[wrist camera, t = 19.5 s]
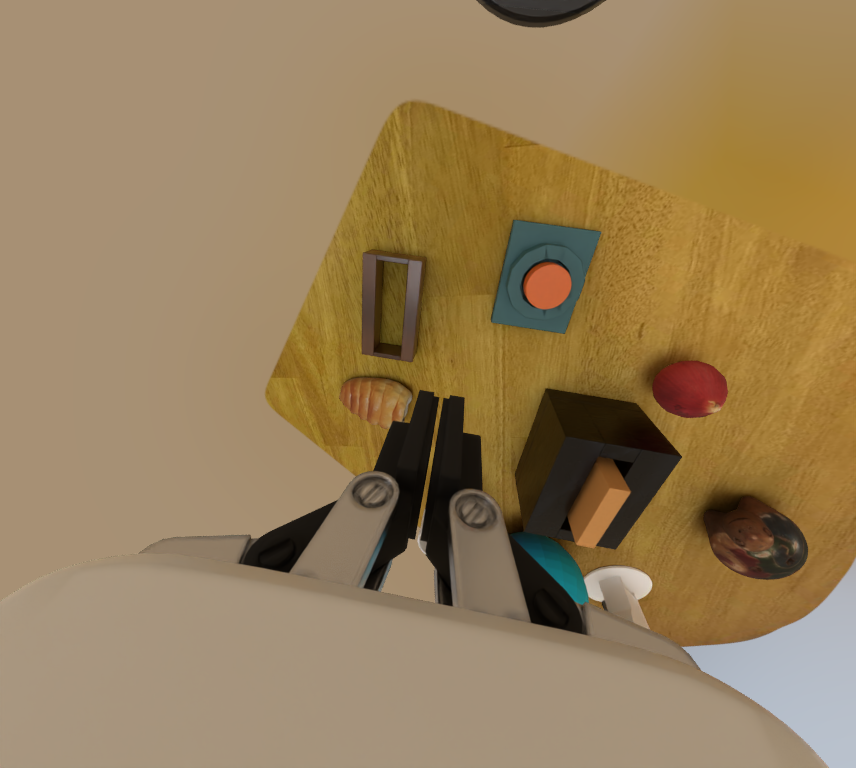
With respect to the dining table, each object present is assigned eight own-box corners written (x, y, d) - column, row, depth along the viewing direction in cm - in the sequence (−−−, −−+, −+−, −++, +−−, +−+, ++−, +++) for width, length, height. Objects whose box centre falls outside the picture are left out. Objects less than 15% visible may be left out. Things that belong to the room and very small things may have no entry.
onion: (689, 393, 36) (740, 436, 29) (635, 395, 37) (672, 437, 30) (704, 347, 33) (765, 382, 26) (645, 350, 34) (689, 386, 27)
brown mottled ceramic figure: (739, 470, 40) (802, 524, 33) (787, 522, 44) (852, 579, 37) (668, 506, 44) (711, 562, 37) (719, 550, 48) (765, 608, 41)
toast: (578, 424, 37) (609, 488, 29) (594, 427, 37) (631, 491, 29) (554, 476, 42) (575, 545, 33) (569, 479, 42) (594, 548, 33)
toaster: (545, 388, 38) (566, 436, 30) (636, 403, 37) (682, 456, 29) (514, 474, 45) (523, 532, 37) (589, 487, 45) (615, 549, 37)
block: (513, 219, 30) (517, 220, 27) (597, 231, 29) (609, 232, 27) (490, 319, 35) (492, 327, 32) (562, 330, 34) (569, 339, 32)
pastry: (342, 406, 43) (331, 422, 40) (346, 364, 40) (334, 378, 37) (406, 423, 43) (400, 440, 40) (415, 382, 40) (410, 397, 37)
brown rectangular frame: (371, 249, 33) (362, 252, 30) (426, 257, 32) (422, 261, 30) (369, 344, 38) (361, 354, 35) (416, 352, 38) (412, 362, 35)
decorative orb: (550, 500, 47) (580, 610, 34) (585, 556, 52) (622, 669, 39) (464, 525, 52) (461, 628, 39) (503, 573, 58) (512, 678, 45)
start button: (529, 259, 29) (532, 261, 27) (572, 265, 29) (578, 268, 27) (518, 301, 31) (520, 305, 29) (558, 307, 30) (563, 312, 29)
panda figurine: (568, 574, 55) (597, 685, 42) (632, 556, 51) (687, 674, 38) (598, 606, 59) (634, 718, 46) (661, 592, 54) (720, 712, 41)
